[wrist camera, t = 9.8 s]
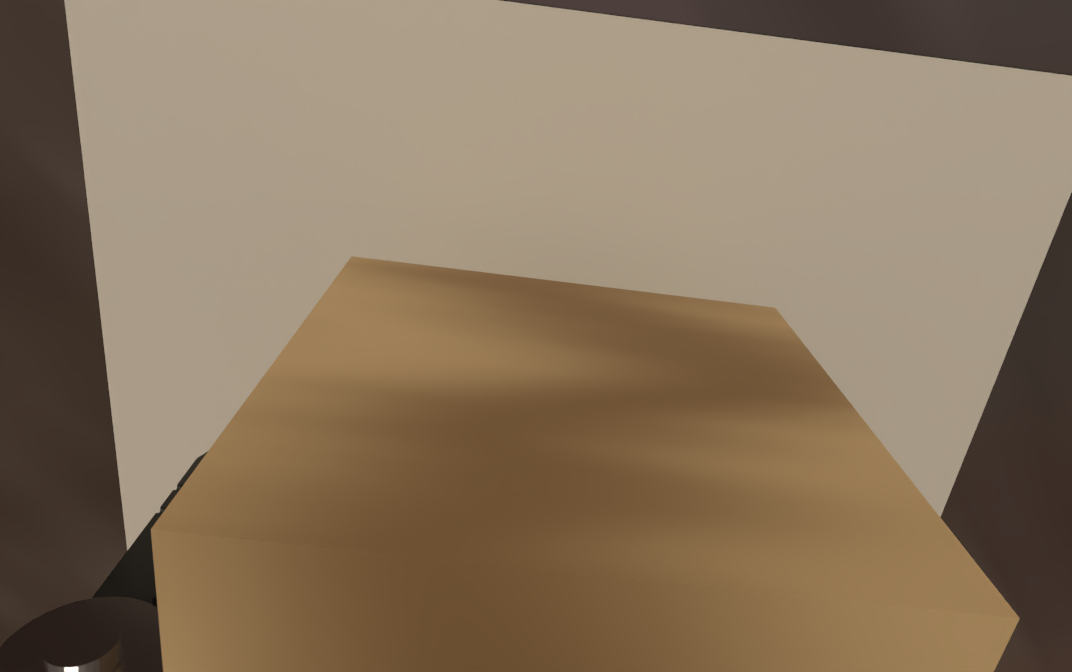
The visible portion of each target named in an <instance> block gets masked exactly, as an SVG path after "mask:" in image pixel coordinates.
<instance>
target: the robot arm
mask: <svg viewBox="0 0 1072 672" xmlns="http://www.w3.org/2000/svg"><path fill="white" fill-rule="evenodd" d="M207 452H208V451H207ZM207 452H206V453H204V454H203V455H201V456H199V457H198V458H197V459H196V460H195V461H194V463H193V464H192V465H191V467H190V468H189V469H188V471H187V472H186V473H185V475H184V476H183V477H182V479H181V480H180V481H179V483H178V484H177V489H176V490H173V491H172V492H171V493H170V495H169V496H168V497H167V499H166V500H165V501H164V503H163V504H162V505H161V507H160V512H159V513H155V515H154V516H153V517H152V519H151V520H150V521H149V523H148V524H147V525H146V527H145V528H144V529H143V531H142V532H141V533H140V535H139V536H138V537H137V539H136V540H135V541H134V543H133V544H132V545H131V547H130V548H129V549H128V551H127V552H126V553H125V555H124V556H123V557H122V559H121V560H120V561H119V563H118V564H117V565H116V567H115V568H114V569H113V571H112V572H111V573H110V575H109V576H108V577H107V579H106V580H105V581H104V583H103V584H102V585H101V587H100V588H99V589H98V591H97V592H96V593H95V595H94V596H93V597H92V598H90V599H86V600H81V601H76V602H73V603H70V604H67V605H64V606H61V607H58V608H56V609H54V610H51V611H49V612H46V613H45V614H43V615H41V616H39V617H37V618H35V619H33V620H32V621H30V622H29V623H27V624H26V625H24V626H23V627H21V628H20V629H18V630H17V631H16V632H15V633H14V634H13V635H12V636H10V637H9V638H8V639H7V640H6V641H5V642H4V643H3V644H2V646H1V647H0V672H163V663H162V652H161V640H160V629H159V618H158V607H157V595H156V584H155V573H154V562H153V550H152V539H151V528H152V527H153V526H154V524H155V523H156V521H157V520H158V519H159V517H160V516H161V515H162V513H163V512H164V511H165V509H166V508H167V507H168V505H169V504H170V502H171V501H172V500H173V498H174V497H175V496H176V494H177V493H178V492H179V490H180V489H181V488H182V486H183V485H184V483H185V482H186V481H187V479H188V478H189V477H190V475H191V474H192V473H193V471H194V470H195V468H196V467H197V466H198V464H199V463H200V462H201V460H202V459H203V458H204V456H205V455H206V454H207Z"/></svg>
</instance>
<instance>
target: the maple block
mask: <svg viewBox="0 0 1072 672" xmlns="http://www.w3.org/2000/svg"><path fill="white" fill-rule="evenodd" d="M151 539H152V550H153V562H154V573H155V584H156V595H157V607H158V618H159V629H160V640H161V652H162V663H163V672H994V670H995V668H996V666H997V664H998V662H999V660H1000V658H1001V656H1002V654H1003V652H1004V649H1005V647H1006V645H1007V643H1008V641H1009V639H1010V637H1011V635H1012V633H1013V631H1014V629H1015V627H1016V625H1017V623H1018V621H1019V619H1020V618H1019V617H1018V616H1017V614H1016V613H1015V612H1014V611H1013V609H1012V608H1011V607H1010V606H1009V604H1008V603H1007V602H1006V600H1005V599H1004V598H1003V597H1002V595H1001V594H1000V593H999V592H998V590H997V589H996V588H995V586H994V585H993V584H992V583H991V581H990V580H989V579H988V578H987V576H986V575H985V574H984V573H983V571H982V570H981V569H980V567H979V566H978V565H977V564H976V562H975V561H974V560H973V559H972V557H971V556H970V555H969V553H968V552H967V551H966V550H965V548H964V547H963V546H962V545H961V543H960V542H959V541H958V539H957V538H956V537H955V536H954V534H953V533H952V532H951V531H950V529H949V528H948V527H947V525H946V524H945V523H944V522H943V520H942V519H941V518H940V517H939V515H938V514H937V513H936V511H935V510H934V509H933V508H932V506H931V505H930V504H929V503H928V501H927V500H926V499H925V497H924V496H923V495H922V494H921V492H920V491H919V490H918V489H917V487H916V486H915V485H914V483H913V482H912V481H911V480H910V478H909V477H908V476H907V475H906V473H905V472H904V471H903V469H902V468H901V467H900V466H899V464H898V463H897V462H896V461H895V459H894V458H893V457H892V455H891V454H890V453H889V452H888V450H887V449H886V448H885V447H884V445H883V444H882V443H881V441H880V440H879V439H878V438H877V436H876V435H875V434H874V433H873V431H872V430H871V429H870V427H869V426H868V425H867V424H866V422H865V421H864V420H863V419H862V417H861V416H860V415H859V414H858V412H857V411H856V410H855V408H854V407H853V406H852V405H851V403H850V402H849V401H848V400H847V398H846V397H845V396H844V394H843V393H842V392H841V391H840V389H839V388H838V387H837V386H836V384H835V383H834V382H833V380H832V379H831V378H830V377H829V375H828V374H827V373H826V372H825V370H824V369H823V368H822V366H821V365H820V364H819V363H818V361H817V360H816V359H815V358H814V356H813V355H812V354H811V352H810V351H809V350H808V349H807V347H806V346H805V345H804V344H803V342H802V341H801V340H800V338H799V337H798V336H797V335H796V333H795V332H794V331H793V330H792V328H791V327H790V326H789V324H788V323H787V322H786V321H785V319H784V318H783V317H782V316H781V314H780V313H779V312H778V310H777V309H776V308H774V307H765V306H757V305H749V304H741V303H732V302H724V301H716V300H708V299H700V298H691V297H683V296H675V295H667V294H658V293H650V292H642V291H634V290H625V289H617V288H609V287H601V286H593V285H584V284H576V283H568V282H560V281H551V280H543V279H535V278H527V277H518V276H510V275H502V274H494V273H486V272H477V271H469V270H461V269H453V268H444V267H436V266H428V265H420V264H411V263H403V262H395V261H387V260H378V259H370V258H362V257H354V256H351V258H350V259H349V261H348V262H347V263H346V265H345V266H344V267H343V269H342V270H341V271H340V273H339V274H338V275H337V277H336V278H335V280H334V281H333V282H332V284H331V285H330V286H329V288H328V289H327V290H326V292H325V293H324V294H323V296H322V297H321V299H320V300H319V301H318V303H317V304H316V305H315V307H314V308H313V309H312V311H311V312H310V314H309V315H308V316H307V318H306V319H305V320H304V322H303V323H302V324H301V326H300V327H299V328H298V330H297V331H296V333H295V334H294V335H293V337H292V338H291V339H290V341H289V342H288V343H287V345H286V346H285V347H284V349H283V350H282V352H281V353H280V354H279V356H278V357H277V358H276V360H275V361H274V362H273V364H272V365H271V367H270V368H269V369H268V371H267V372H266V373H265V375H264V376H263V377H262V379H261V380H260V381H259V383H258V384H257V386H256V387H255V388H254V390H253V391H252V392H251V394H250V395H249V396H248V398H247V399H246V401H245V402H244V403H243V405H242V406H241V407H240V409H239V410H238V411H237V413H236V414H235V415H234V417H233V418H232V420H231V421H230V422H229V424H228V425H227V426H226V428H225V429H224V430H223V432H222V433H221V434H220V436H219V437H218V439H217V440H216V441H215V443H214V444H213V445H212V447H211V448H210V449H209V451H208V452H207V454H206V455H205V456H204V458H203V459H202V460H201V462H200V463H199V464H198V466H197V467H196V468H195V470H194V471H193V473H192V474H191V475H190V477H189V478H188V479H187V481H186V482H185V483H184V485H183V486H182V488H181V489H180V490H179V492H178V493H177V494H176V496H175V497H174V498H173V500H172V501H171V502H170V504H169V505H168V507H167V508H166V509H165V511H164V512H163V513H162V515H161V516H160V517H159V519H158V520H157V521H156V523H155V524H154V526H153V527H152V528H151Z"/></svg>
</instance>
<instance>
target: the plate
mask: <svg viewBox="0 0 1072 672" xmlns="http://www.w3.org/2000/svg"><path fill="white" fill-rule="evenodd" d="M65 9H66V18H67V26H68V35H69V44H70V53H71V61H72V70H73V79H74V88H75V96H76V105H77V114H78V122H79V131H80V140H81V149H82V157H83V166H84V175H85V184H86V192H87V201H88V210H89V219H90V227H91V236H92V245H93V254H94V262H95V271H96V280H97V289H98V297H99V306H100V315H101V324H102V332H103V341H104V350H105V359H106V367H107V376H108V385H109V394H110V402H111V411H112V420H113V429H114V437H115V446H116V455H117V464H118V472H119V481H120V490H121V499H122V507H123V516H124V525H125V534H126V542H127V551H128V549H129V548H130V547H131V545H132V544H133V543H134V541H135V540H136V539H137V537H138V536H139V535H140V533H141V532H142V531H143V529H144V528H145V527H146V525H147V524H148V523H149V521H150V520H151V519H152V517H153V516H154V515H155V513H159V512H160V507H161V505H162V504H163V503H164V501H165V500H166V499H167V497H168V496H169V495H170V493H171V492H172V491H173V490H176V489H177V484H178V483H179V481H180V480H181V479H182V477H183V476H184V475H185V473H186V472H187V471H188V469H189V468H190V467H191V465H192V464H193V463H194V461H195V460H196V459H197V458H198V457H199V456H201V455H203V454H204V453H206V452H207V451H209V449H210V448H211V447H212V445H213V444H214V443H215V441H216V440H217V439H218V437H219V436H220V434H221V433H222V432H223V430H224V429H225V428H226V426H227V425H228V424H229V422H230V421H231V420H232V418H233V417H234V415H235V414H236V413H237V411H238V410H239V409H240V407H241V406H242V405H243V403H244V402H245V401H246V399H247V398H248V396H249V395H250V394H251V392H252V391H253V390H254V388H255V387H256V386H257V384H258V383H259V381H260V380H261V379H262V377H263V376H264V375H265V373H266V372H267V371H268V369H269V368H270V367H271V365H272V364H273V362H274V361H275V360H276V358H277V357H278V356H279V354H280V353H281V352H282V350H283V349H284V347H285V346H286V345H287V343H288V342H289V341H290V339H291V338H292V337H293V335H294V334H295V333H296V331H297V330H298V328H299V327H300V326H301V324H302V323H303V322H304V320H305V319H306V318H307V316H308V315H309V314H310V312H311V311H312V309H313V308H314V307H315V305H316V304H317V303H318V301H319V300H320V299H321V297H322V296H323V294H324V293H325V292H326V290H327V289H328V288H329V286H330V285H331V284H332V282H333V281H334V280H335V278H336V277H337V275H338V274H339V273H340V271H341V270H342V269H343V267H344V266H345V265H346V263H347V262H348V261H349V259H350V258H351V256H354V257H362V258H370V259H378V260H387V261H395V262H403V263H411V264H420V265H428V266H436V267H444V268H453V269H461V270H469V271H477V272H486V273H494V274H502V275H510V276H518V277H527V278H535V279H543V280H551V281H560V282H568V283H576V284H584V285H593V286H601V287H609V288H617V289H625V290H634V291H642V292H650V293H658V294H667V295H675V296H683V297H691V298H700V299H708V300H716V301H724V302H732V303H741V304H749V305H757V306H765V307H774V308H776V309H777V310H778V312H779V313H780V314H781V316H782V317H783V318H784V319H785V321H786V322H787V323H788V324H789V326H790V327H791V328H792V330H793V331H794V332H795V333H796V335H797V336H798V337H799V338H800V340H801V341H802V342H803V344H804V345H805V346H806V347H807V349H808V350H809V351H810V352H811V354H812V355H813V356H814V358H815V359H816V360H817V361H818V363H819V364H820V365H821V366H822V368H823V369H824V370H825V372H826V373H827V374H828V375H829V377H830V378H831V379H832V380H833V382H834V383H835V384H836V386H837V387H838V388H839V389H840V391H841V392H842V393H843V394H844V396H845V397H846V398H847V400H848V401H849V402H850V403H851V405H852V406H853V407H854V408H855V410H856V411H857V412H858V414H859V415H860V416H861V417H862V419H863V420H864V421H865V422H866V424H867V425H868V426H869V427H870V429H871V430H872V431H873V433H874V434H875V435H876V436H877V438H878V439H879V440H880V441H881V443H882V444H883V445H884V447H885V448H886V449H887V450H888V452H889V453H890V454H891V455H892V457H893V458H894V459H895V461H896V462H897V463H898V464H899V466H900V467H901V468H902V469H903V471H904V472H905V473H906V475H907V476H908V477H909V478H910V480H911V481H912V482H913V483H914V485H915V486H916V487H917V489H918V490H919V491H920V492H921V494H922V495H923V496H924V497H925V499H926V500H927V501H928V503H929V504H930V505H931V506H932V508H933V509H934V510H935V511H936V513H937V514H938V515H939V517H941V514H942V512H943V509H944V507H945V504H946V502H947V499H948V497H949V494H950V492H951V489H952V487H953V484H954V482H955V480H956V477H957V475H958V472H959V470H960V467H961V465H962V462H963V460H964V457H965V455H966V452H967V450H968V447H969V445H970V442H971V440H972V437H973V435H974V432H975V430H976V427H977V425H978V422H979V420H980V417H981V415H982V413H983V410H984V408H985V405H986V403H987V400H988V398H989V395H990V393H991V390H992V388H993V385H994V383H995V380H996V378H997V375H998V373H999V370H1000V368H1001V365H1002V363H1003V360H1004V358H1005V355H1006V353H1007V350H1008V348H1009V346H1010V343H1011V341H1012V338H1013V336H1014V333H1015V331H1016V328H1017V326H1018V323H1019V321H1020V318H1021V316H1022V313H1023V311H1024V308H1025V306H1026V303H1027V301H1028V298H1029V296H1030V293H1031V291H1032V288H1033V286H1034V283H1035V281H1036V279H1037V276H1038V274H1039V271H1040V269H1041V266H1042V264H1043V261H1044V259H1045V256H1046V254H1047V251H1048V249H1049V246H1050V244H1051V241H1052V239H1053V236H1054V234H1055V231H1056V229H1057V226H1058V224H1059V221H1060V219H1061V217H1062V214H1063V212H1064V209H1065V207H1066V204H1067V202H1068V199H1069V197H1070V194H1071V192H1072V76H1069V75H1062V74H1054V73H1046V72H1039V71H1031V70H1024V69H1016V68H1008V67H1001V66H993V65H986V64H978V63H970V62H963V61H955V60H948V59H940V58H933V57H925V56H917V55H910V54H902V53H895V52H887V51H879V50H872V49H864V48H857V47H849V46H841V45H834V44H826V43H819V42H811V41H803V40H796V39H788V38H781V37H773V36H765V35H758V34H750V33H743V32H735V31H727V30H720V29H712V28H705V27H697V26H689V25H682V24H674V23H667V22H659V21H651V20H644V19H636V18H629V17H621V16H614V15H606V14H598V13H591V12H583V11H576V10H568V9H560V8H553V7H545V6H538V5H530V4H522V3H515V2H507V1H500V0H65Z"/></svg>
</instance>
